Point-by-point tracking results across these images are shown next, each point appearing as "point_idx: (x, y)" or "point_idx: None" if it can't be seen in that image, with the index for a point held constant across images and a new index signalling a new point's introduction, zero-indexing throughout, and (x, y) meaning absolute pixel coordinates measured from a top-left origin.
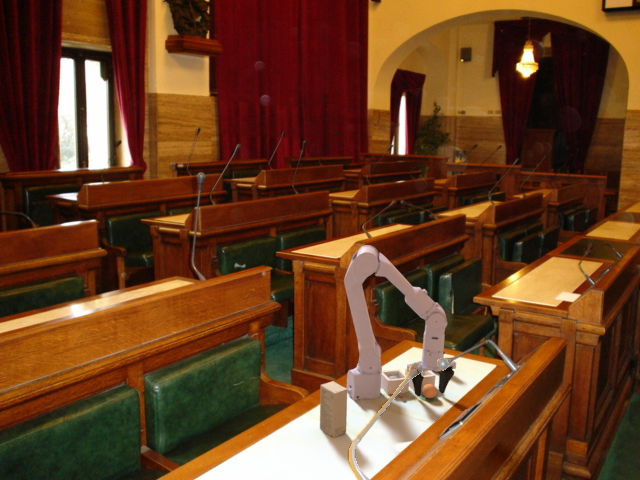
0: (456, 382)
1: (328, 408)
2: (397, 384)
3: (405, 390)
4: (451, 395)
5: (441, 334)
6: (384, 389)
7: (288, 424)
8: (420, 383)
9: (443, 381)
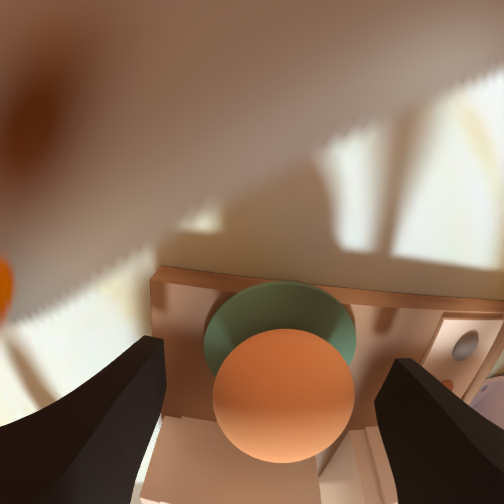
0: (35, 402)
1: None
2: None
3: (374, 440)
4: (79, 340)
5: None
6: None
7: None
8: (489, 443)
9: (112, 442)
